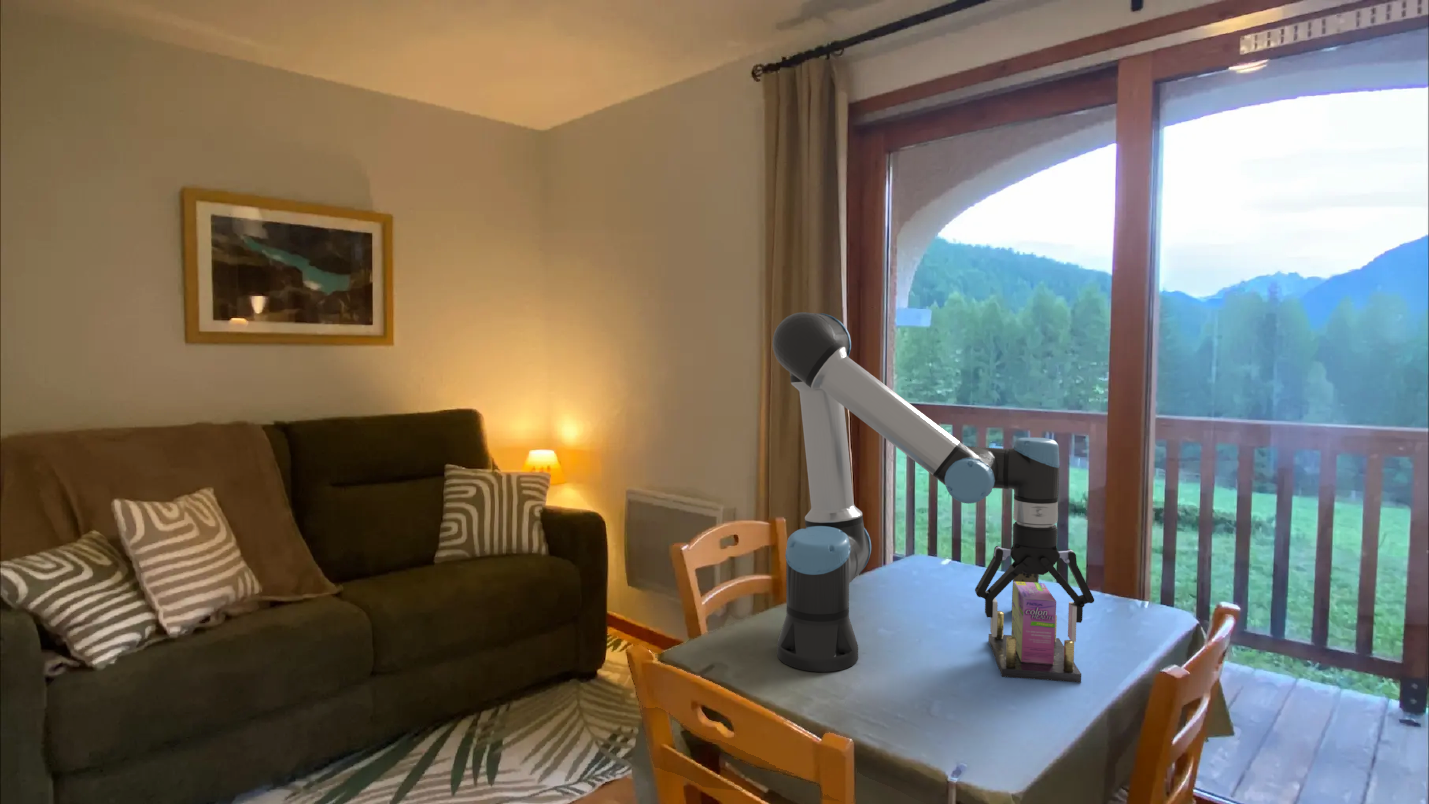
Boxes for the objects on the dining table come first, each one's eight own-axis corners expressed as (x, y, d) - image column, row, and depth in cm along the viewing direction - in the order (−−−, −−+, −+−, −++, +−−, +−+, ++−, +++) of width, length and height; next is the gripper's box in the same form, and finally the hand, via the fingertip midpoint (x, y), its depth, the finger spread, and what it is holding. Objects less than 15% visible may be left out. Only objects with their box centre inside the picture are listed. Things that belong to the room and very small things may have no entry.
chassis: (1001, 676, 140) (1002, 640, 140) (988, 641, 157) (989, 608, 157) (1081, 682, 138) (1082, 645, 137) (1058, 645, 154) (1059, 612, 154)
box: (1054, 665, 142) (1056, 599, 141) (1021, 662, 143) (1022, 598, 142) (1042, 643, 152) (1044, 582, 151) (1010, 641, 153) (1012, 580, 152)
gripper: (966, 524, 144) (964, 639, 146) (1115, 530, 139) (1111, 648, 141) (961, 515, 152) (959, 625, 153) (1103, 520, 147) (1099, 633, 148)
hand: (1032, 636), depth 147 cm, fingers open, 13 cm apart
